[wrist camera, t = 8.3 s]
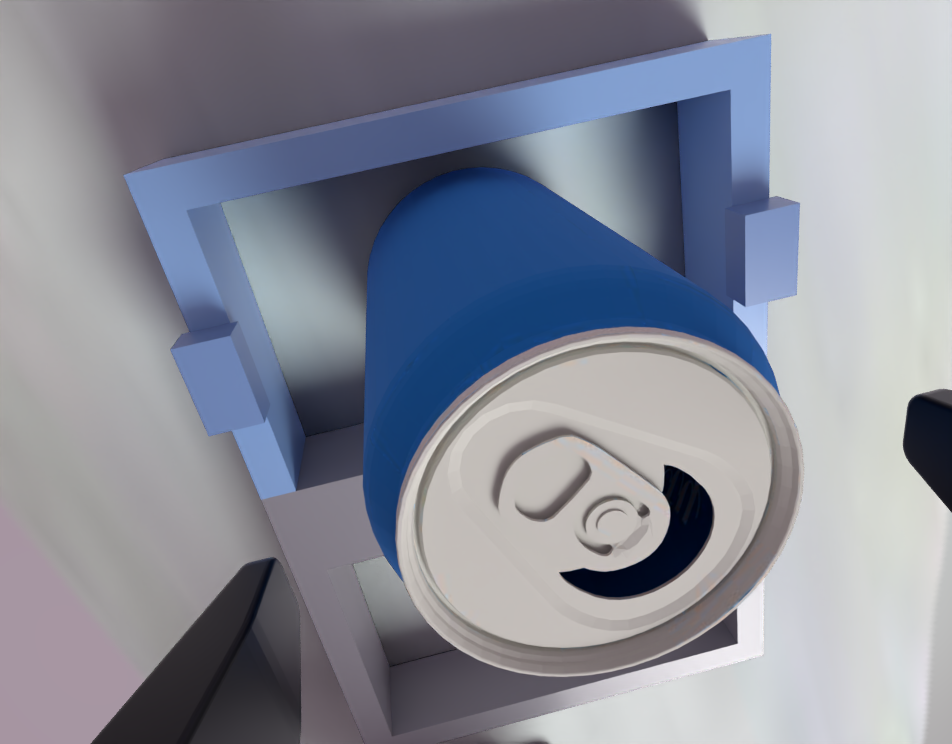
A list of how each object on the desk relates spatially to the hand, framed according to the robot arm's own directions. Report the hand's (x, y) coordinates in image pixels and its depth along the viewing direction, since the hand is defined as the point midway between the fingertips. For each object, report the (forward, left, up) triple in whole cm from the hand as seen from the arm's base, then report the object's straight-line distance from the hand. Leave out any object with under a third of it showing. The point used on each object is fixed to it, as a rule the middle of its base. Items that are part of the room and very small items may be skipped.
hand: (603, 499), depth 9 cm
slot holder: (-6, 0, -12) cm, 13 cm away
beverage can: (0, 0, -12) cm, 12 cm away
